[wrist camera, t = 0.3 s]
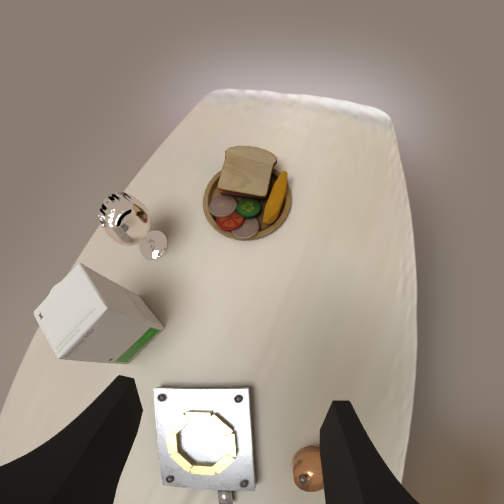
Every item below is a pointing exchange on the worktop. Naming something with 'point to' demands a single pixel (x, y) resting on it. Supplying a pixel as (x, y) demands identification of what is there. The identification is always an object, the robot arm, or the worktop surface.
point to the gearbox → (206, 438)
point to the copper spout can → (308, 469)
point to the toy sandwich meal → (247, 194)
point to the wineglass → (131, 224)
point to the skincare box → (95, 319)
